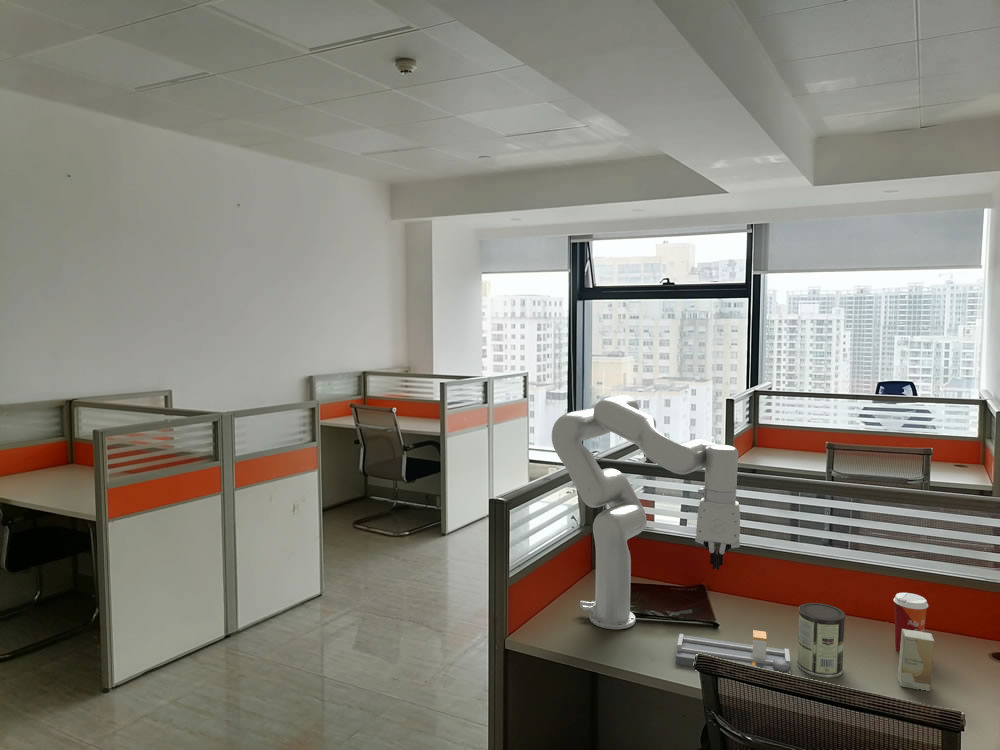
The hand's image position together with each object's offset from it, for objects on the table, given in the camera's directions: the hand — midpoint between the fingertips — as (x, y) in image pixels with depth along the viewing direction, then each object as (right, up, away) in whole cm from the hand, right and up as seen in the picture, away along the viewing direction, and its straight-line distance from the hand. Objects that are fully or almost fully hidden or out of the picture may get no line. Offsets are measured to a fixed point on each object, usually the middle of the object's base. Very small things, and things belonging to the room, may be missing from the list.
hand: (716, 567), depth 182 cm
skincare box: (+42, -24, -13) cm, 50 cm away
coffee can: (+24, -23, -5) cm, 33 cm away
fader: (+9, -21, -4) cm, 23 cm away
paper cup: (+50, -22, +3) cm, 54 cm away
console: (+4, -23, -1) cm, 23 cm away
